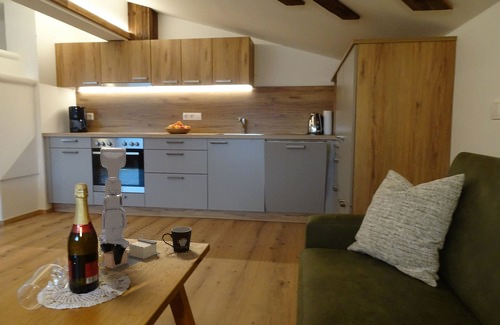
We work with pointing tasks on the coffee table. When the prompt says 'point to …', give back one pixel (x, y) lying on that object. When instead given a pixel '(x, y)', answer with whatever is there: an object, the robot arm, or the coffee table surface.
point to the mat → (128, 261)
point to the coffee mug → (180, 239)
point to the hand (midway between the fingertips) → (113, 262)
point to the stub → (110, 259)
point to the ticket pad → (143, 248)
